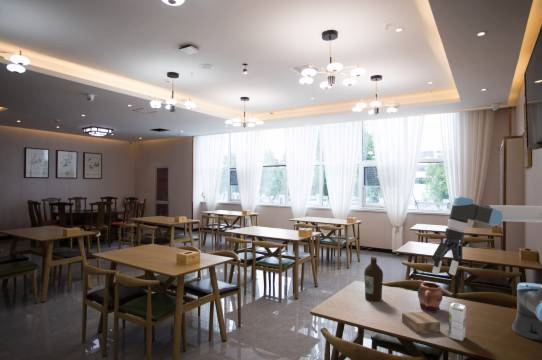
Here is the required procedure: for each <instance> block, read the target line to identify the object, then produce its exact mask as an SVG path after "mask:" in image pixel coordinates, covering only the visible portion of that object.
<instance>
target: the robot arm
mask: <svg viewBox="0 0 542 360" xmlns="http://www.w3.org/2000/svg"><path fill="white" fill-rule="evenodd" d="M469 221H473V222H477V223H482V224H485V225H488V226H494V227H498V226H499V225H500V224H501V222H517V223H518V222H524V223H542V205H510V204H508V205H501V204H500V205H499V204H498V205H497V204H495V205H494V204H475V203H474V199H473V198H468V197H465V196H462V195H461V196H460V195H456V196H455V197H454V200H453V202H452V206H451V210H450V214H449V219H448V220H447V225H446V226H447V228H446V229H445V232H444V236H445V237H446V238H444V237H442V238H441V240H440V243H439V244H438V246H437V248H436V249H435V252H434V253H433V255H432V257H433V259H434V262H433V263H434V264H433V267H432V271H431V273H432V274H434V275H436V276H439V274H440V271H441V267H442V264H443V261H442V260H443V258H444V257H445V256H446V255H447V253H449V252H450V251H451V254H452V258H453V259H452V260H451V263H450V266H449V270H448V274H450V275H452V276H456V273H457V270H458V266H459V263H462V261H463V244H464V242H463V240H464V238H465V232H466V230H467V226H468V223H469ZM512 331H513V332H514V333H516V334H517V335H519V336H521V337H524V338H528V339H531V340H534V341H541V342H542V284H541V283H533V282H532V283H531V282H519V283H517V287H516V315H515V318H514V320H513V322H512Z"/></svg>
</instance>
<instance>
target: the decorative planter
mask: <svg viewBox="0 0 542 360" xmlns="http://www.w3.org/2000/svg"><path fill="white" fill-rule="evenodd" d="M441 289H442V288H441V285H440V284H438V283H436V282H432V281H431V282H428V281H425V282H422V283H420V285H419V288H418V291H417V297H418V300H419V301H418V302H419V307H420V309H421V310H423V311H426V312H433V313H437V312H439V311H440V309H441V307H440V305H441V303H442V301H443V292H442V290H441Z"/></svg>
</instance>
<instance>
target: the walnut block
mask: <svg viewBox="0 0 542 360" xmlns="http://www.w3.org/2000/svg"><path fill="white" fill-rule="evenodd" d="M401 323H402V324H404V326H406V327H407V328H409V329H410V330H411V331H413V332H414V333H416V334H417V335H418V334H428V333H429V334H431V333H438V332H439V333H441V321H440V320H438V319H436V318H435V317H434V316H432V315H430V314H428V313H426V312H425V311H413V312H412V311H411V312H402V313H401Z"/></svg>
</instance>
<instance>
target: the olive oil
mask: <svg viewBox="0 0 542 360" xmlns="http://www.w3.org/2000/svg"><path fill="white" fill-rule="evenodd" d="M377 261H378V260H377V256H371V257H370V263H369V264H368V265H367V266H366V267H365V269H364V273H363V275H364V276H363V277H364V298H366V299H365V300H366V301H369V302H372V303H373V302H376V303H378V302H381V301H382V299H383V279H384V272H383V270H382V267H380V265H378V264H377Z"/></svg>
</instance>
